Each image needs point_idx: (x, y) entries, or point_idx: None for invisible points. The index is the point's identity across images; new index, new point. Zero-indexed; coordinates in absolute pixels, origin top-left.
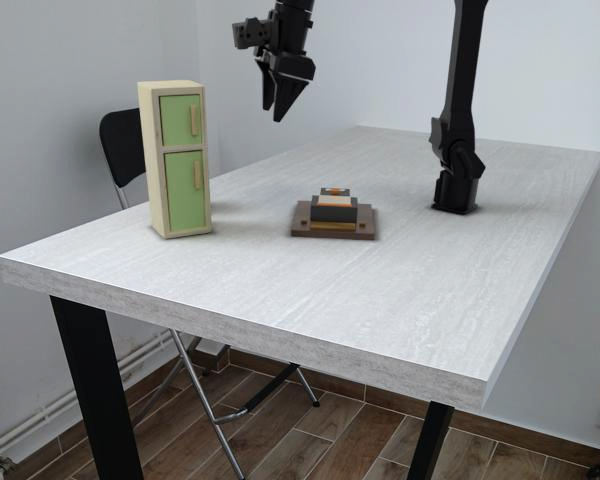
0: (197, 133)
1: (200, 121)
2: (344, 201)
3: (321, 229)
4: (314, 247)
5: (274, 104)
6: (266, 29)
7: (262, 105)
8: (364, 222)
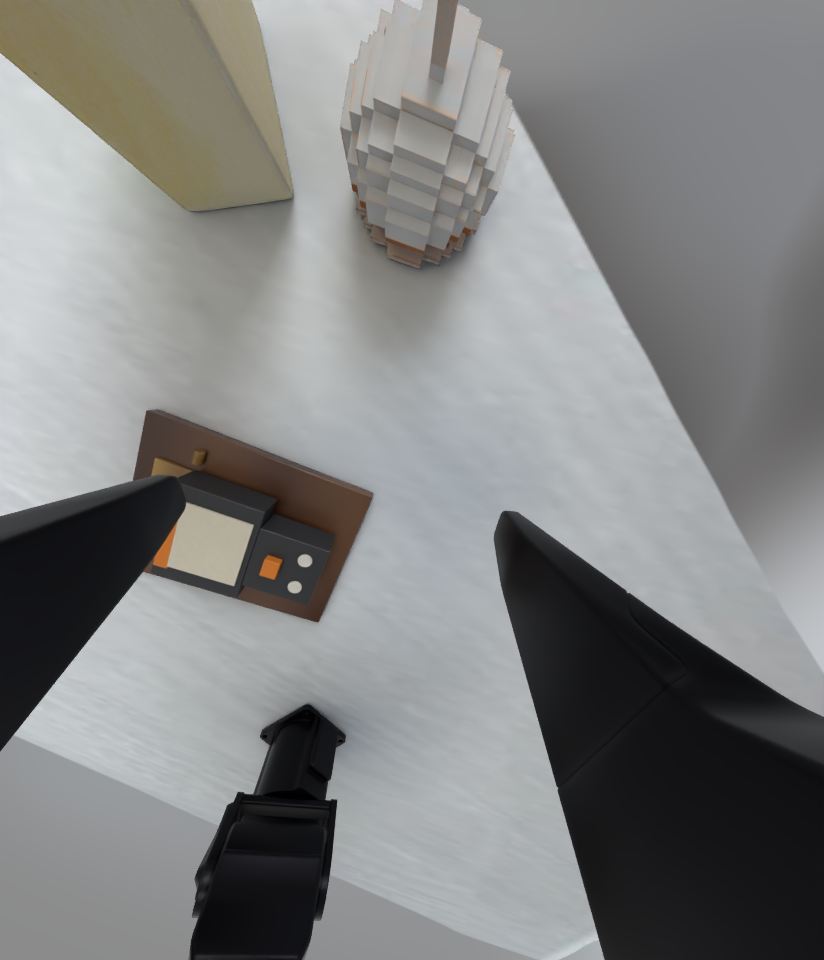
0: None
1: None
2: (191, 561)
3: (148, 476)
4: (80, 433)
5: (41, 512)
6: None
7: (524, 518)
8: None
